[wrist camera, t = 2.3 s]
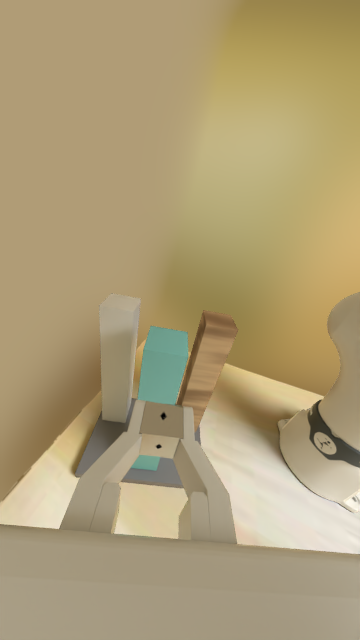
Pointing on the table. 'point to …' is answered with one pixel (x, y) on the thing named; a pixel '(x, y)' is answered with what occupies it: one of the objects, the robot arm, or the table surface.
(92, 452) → the board
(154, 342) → the teal post
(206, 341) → the walnut post
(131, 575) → the robot arm
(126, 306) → the cream post
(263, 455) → the table surface
